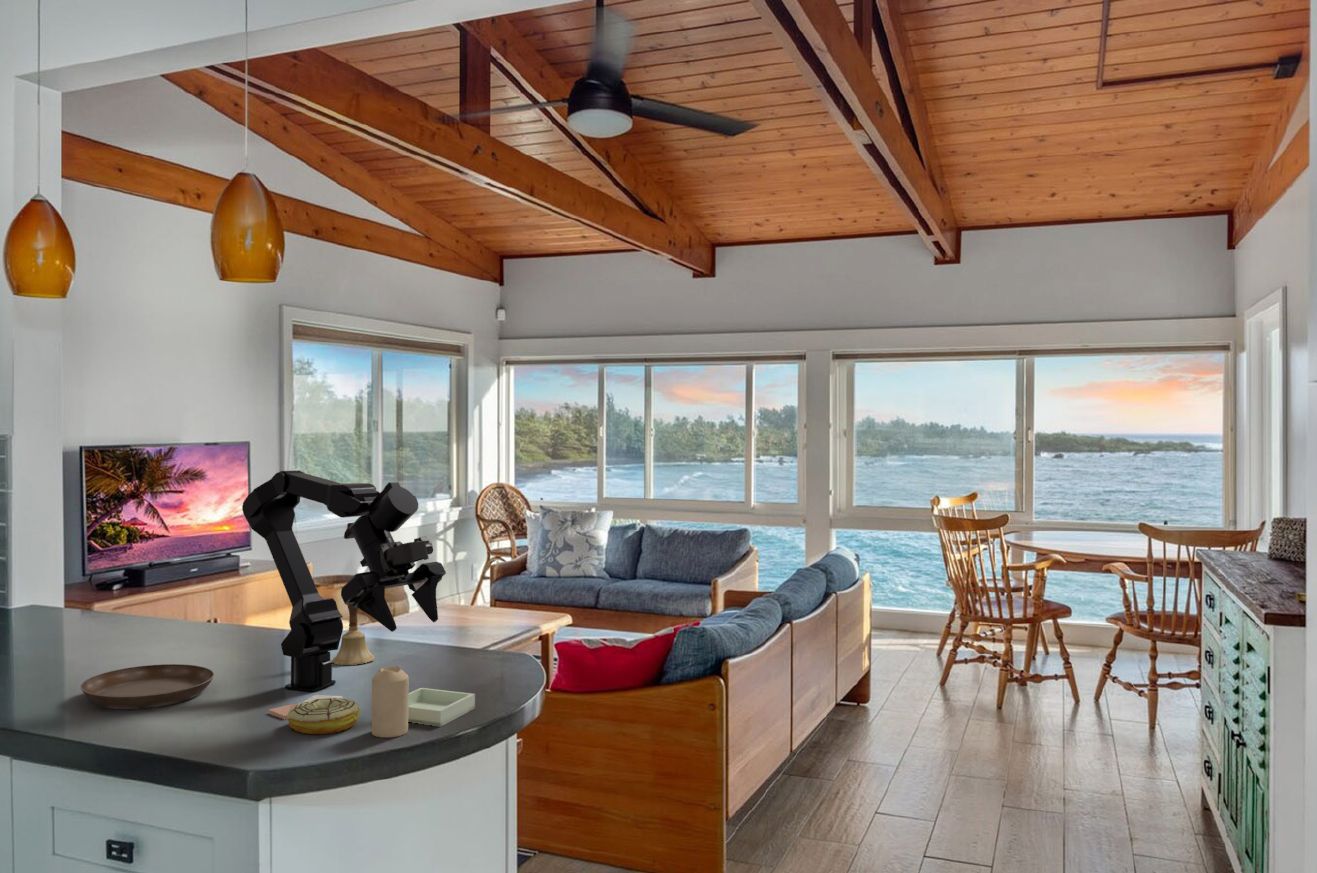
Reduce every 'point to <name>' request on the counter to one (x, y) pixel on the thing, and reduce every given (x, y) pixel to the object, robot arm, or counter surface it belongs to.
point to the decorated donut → (323, 715)
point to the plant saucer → (147, 685)
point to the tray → (438, 706)
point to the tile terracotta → (281, 711)
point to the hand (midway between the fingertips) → (415, 625)
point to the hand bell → (353, 644)
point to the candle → (390, 702)
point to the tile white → (322, 697)
